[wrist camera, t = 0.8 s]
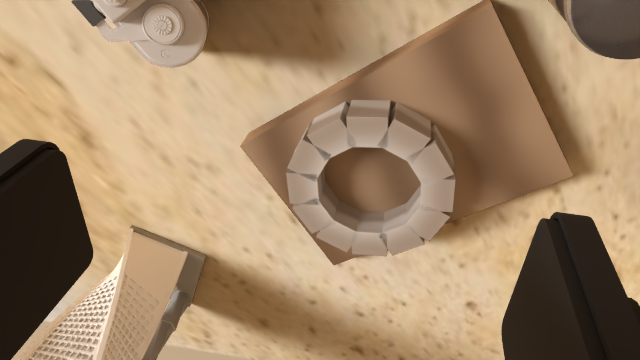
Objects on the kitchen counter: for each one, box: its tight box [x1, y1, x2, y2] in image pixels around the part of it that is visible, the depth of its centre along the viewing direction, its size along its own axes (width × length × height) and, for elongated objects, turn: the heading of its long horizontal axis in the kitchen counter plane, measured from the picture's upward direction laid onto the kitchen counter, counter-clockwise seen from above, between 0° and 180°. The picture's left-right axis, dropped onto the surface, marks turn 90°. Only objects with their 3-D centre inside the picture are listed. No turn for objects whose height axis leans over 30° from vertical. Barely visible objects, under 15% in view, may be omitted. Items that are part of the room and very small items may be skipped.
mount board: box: [240, 0, 573, 265], centre depth 32 cm, size 18×12×4 cm, turn 124°
